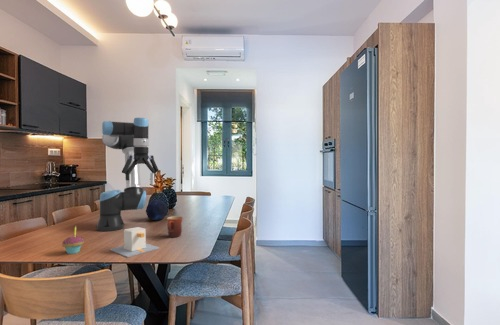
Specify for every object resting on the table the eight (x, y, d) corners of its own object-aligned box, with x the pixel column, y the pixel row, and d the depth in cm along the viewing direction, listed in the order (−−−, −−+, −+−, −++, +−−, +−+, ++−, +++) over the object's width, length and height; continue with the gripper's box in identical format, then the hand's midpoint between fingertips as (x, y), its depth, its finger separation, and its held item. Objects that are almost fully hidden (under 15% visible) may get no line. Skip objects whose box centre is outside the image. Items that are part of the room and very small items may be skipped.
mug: (171, 233, 164) (171, 215, 164) (185, 234, 162) (185, 216, 162) (160, 239, 152) (160, 220, 152) (175, 240, 150) (175, 220, 150)
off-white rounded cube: (124, 248, 134) (123, 229, 134) (137, 245, 140) (137, 226, 140) (135, 252, 128) (135, 232, 128) (149, 248, 133) (149, 229, 133)
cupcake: (68, 249, 135) (68, 224, 134) (87, 249, 135) (87, 224, 135) (58, 255, 126) (58, 228, 126) (78, 255, 127) (78, 228, 127)
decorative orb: (152, 216, 187) (163, 196, 195) (137, 213, 195) (148, 195, 203) (165, 225, 197) (175, 206, 205) (150, 223, 205) (160, 205, 212)
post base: (110, 250, 134) (110, 237, 134) (141, 242, 146) (141, 230, 146) (127, 257, 124) (127, 243, 124) (159, 248, 136) (159, 236, 136)
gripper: (121, 145, 142) (121, 188, 143) (165, 147, 161) (164, 184, 162) (114, 145, 147) (114, 186, 147) (157, 147, 166) (157, 183, 167)
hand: (141, 185), depth 155 cm, fingers open, 13 cm apart
